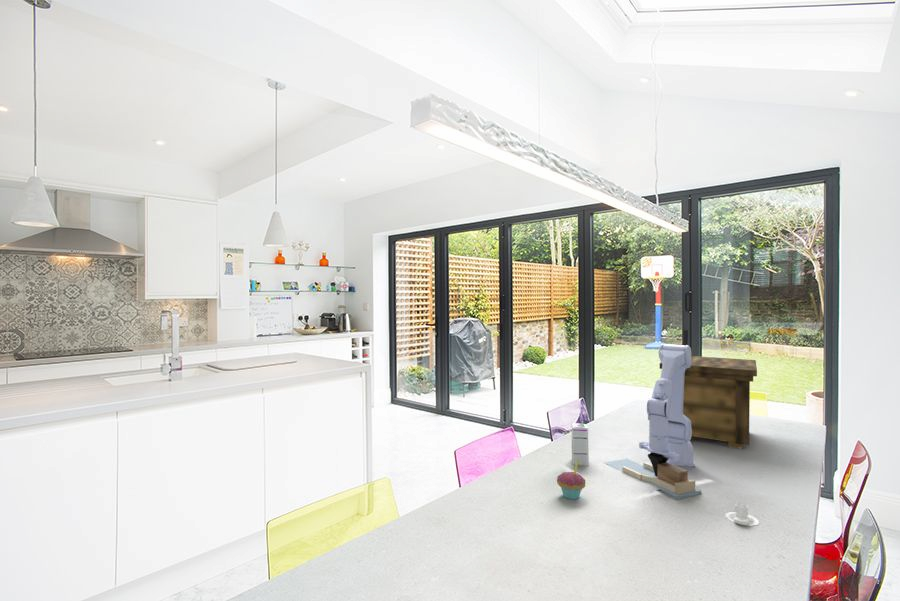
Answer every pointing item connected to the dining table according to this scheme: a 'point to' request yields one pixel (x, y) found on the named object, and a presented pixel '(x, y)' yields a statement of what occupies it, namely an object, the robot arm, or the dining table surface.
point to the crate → (719, 398)
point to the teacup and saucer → (741, 515)
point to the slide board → (655, 479)
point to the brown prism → (671, 473)
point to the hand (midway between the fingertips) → (658, 476)
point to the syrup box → (580, 444)
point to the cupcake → (571, 483)
